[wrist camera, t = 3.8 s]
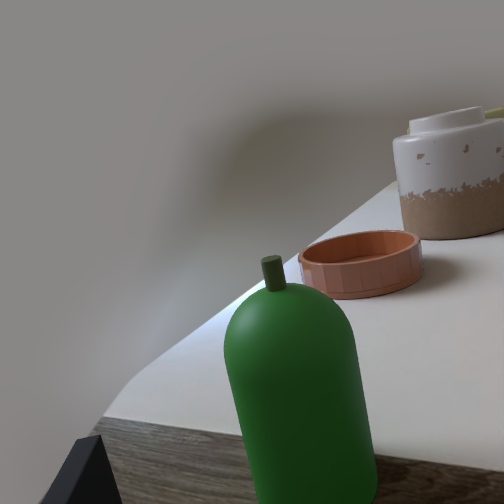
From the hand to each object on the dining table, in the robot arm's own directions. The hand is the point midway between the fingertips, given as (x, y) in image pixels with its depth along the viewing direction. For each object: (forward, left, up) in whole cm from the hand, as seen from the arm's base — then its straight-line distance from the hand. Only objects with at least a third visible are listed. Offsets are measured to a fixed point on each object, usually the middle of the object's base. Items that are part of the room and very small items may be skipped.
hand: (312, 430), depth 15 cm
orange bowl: (+2, +43, -9) cm, 44 cm away
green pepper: (-2, +9, -9) cm, 13 cm away
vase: (+17, +61, -9) cm, 64 cm away
